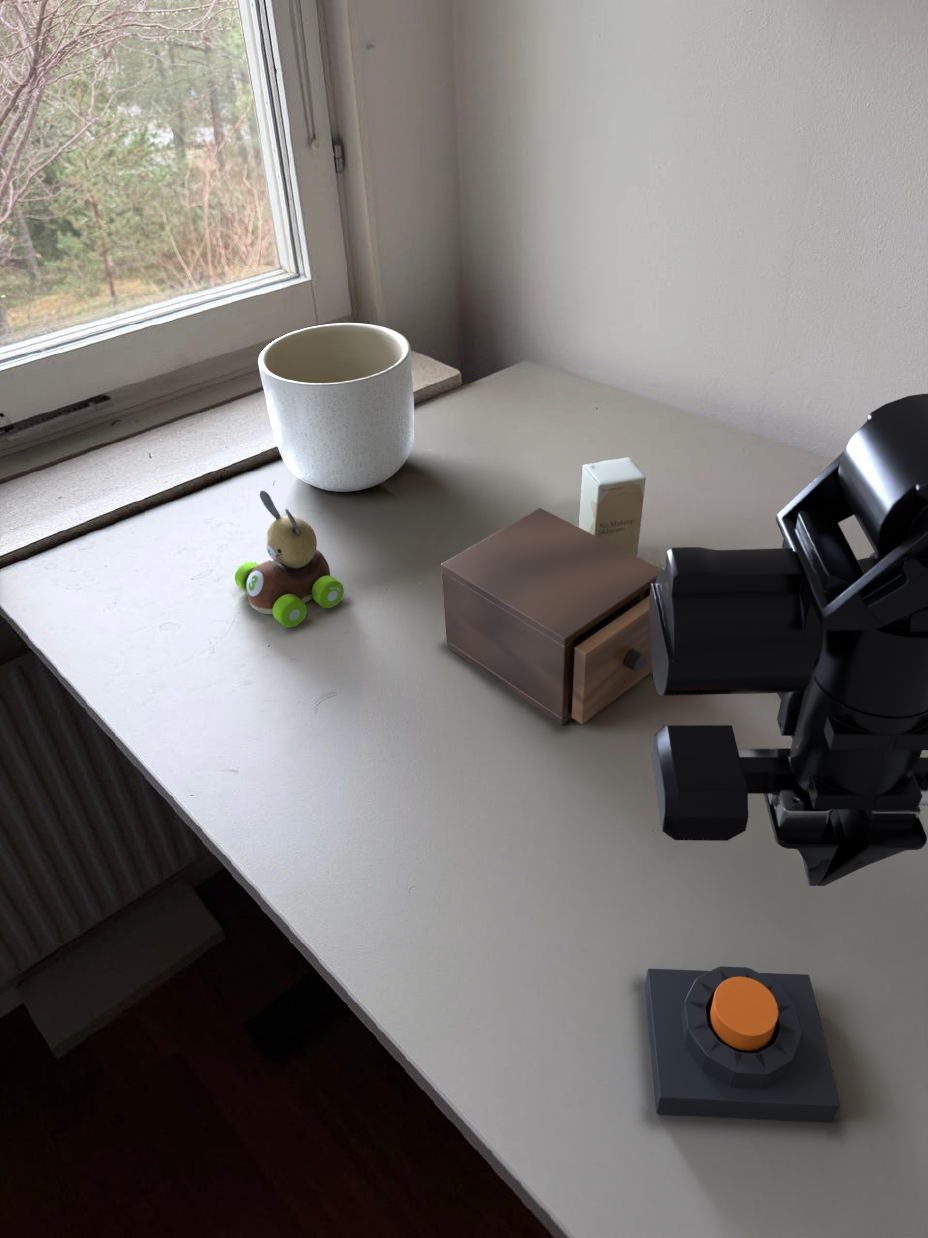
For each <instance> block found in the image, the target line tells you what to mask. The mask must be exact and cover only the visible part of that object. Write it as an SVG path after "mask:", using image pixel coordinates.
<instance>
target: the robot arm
mask: <svg viewBox="0 0 928 1238" xmlns="http://www.w3.org/2000/svg"><path fill="white" fill-rule="evenodd" d="M853 516H854V517H855V519H856V521H857V522H858V524H859V527H860V528H861V530H862V532H863V533H864V535H865V537H866V539H867V540H868V542H869V544H870V546H871V548H872V550H873V551H874V552H872V553H870V554H869V556H868V557H864V558H863V557H862V558H859V559H857V556H856V555H855V553H854V551H853V549H852V546H851V544H850V543H849V542H848V539H847V537H846V536H845V533H844V531H843V530H842V528H841V526H840V524H839V523H841V522H843V521H845V520H846V519H849V518H851V517H853ZM775 521H776V524H777V527H778V528H779V531H780V533H781V536H782V537H783V540H782V545H781V547H779V548H749V549H748V548H746V549H711V548H706V547H701V546H684V547H683V546H682V547H671V548H670V549H668V550H667V551H666V559H665V566H663V567H659V568H660V569H659V572H658V574H657V578H656V583H655V584H651V588H650V600H649V642H650V656H651V665H652V672H651V673H652V678H653V681H654V686H655V689H656V692H657V693H658V695H659V696H661V697H666V696H667V697H668V696H669V697H670V696H671V697H672V696H711V695H717V696H719V695H754V694H757V695H759V694H762V695H763V694H765V695H766V694H776V695H777V696H778V698H779V699H780V703H779V708H778V711H777V717H776V721H777V726H778V728H779V732H780V735H781V737H791V744H790V747H789V748H788V747H787V748H786V747H785V748H776V747H775V748H773V747H772V748H770V747H768V748H767V747H766V748H764V747H763V748H761V747H759V748H757V747H756V748H750V747H749V748H747V747H746V748H744V747H743V748H740V747H739V748H738V744H737V740H736V735H735V732H734V728H733V725H732V724H663V725H662V727H660V729H659V730H658V731H657V732H656V733H655V734H654V735H653V742H652V751H651V761H652V768H653V777H654V782H655V789H656V796H657V797H656V798H657V802H658V810H659V817H660V824H661V832H663V833H664V834H666V835H667V836H668V837H670V838H671V839H672V840H674V841H702V842H704V841H707V842H709V841H711V842H719V841H720V842H728V841H730V840H732V839H733V838H735V837H737V836H739V835H740V834H743V833H745V832H746V830H747V825H748V821H749V794H753V795H754V794H755V795H763V798H764V802H765V806H766V809H767V814H768V817H769V822H770V824H771V825H770V826H771V829H772V833H773V837H774V841H775V843H776V844H777V845H778V846H780V847H781V848H783V849H787V850H797V851H798V853H799V855H800V856H801V858H802V863H803V867H804V873H805V876H806V879H807V883H808V886H809V887H825V886H828V885H830V884H831V883H834V882H836V881H838V880H840V879H842V878H844V877H846V876H848V875H850V874H852V873H853V872H857V871H858V870H861V869H863V868H865V867H867V866H870V865H873V864H875V863H877V862H880V861H882V860H885V859H887V858H890V857H892V856H895V855H897V854H900V853H902V852H905V851H918V850H921V849H923V848H924V847H925V846H926V844H927V842H928V835H927V833H926V831H925V829H924V826H923V823H922V821H921V818H920V817H919V815H920V813H921V811H922V810H921V807H920V806H928V757H927V756H926V757H924V756H923V757H922V756H921V755H922V753H923V751H928V393H919V394H912V395H906V396H904V397H901V398H899V399H896V400H893V401H890V402H888V403H885V404H883V405H881V406H880V407H877V408H876V409H874V410H872V411H871V412H870V413H869V414H868V415H867V418H866V421H865V422H864V423H863V425H862V426H861V427H860V428H859V429H858V430H857V431H856V432H855V433H854V434H853V435H852V436H851V437H850V439H849V441H848V442H847V445H846V446H845V449H844V450H843V452H841V453H840V454H839V455H838V456H837V457H836V458H835V459H834V460H833V461H832V462H831V463H829V465H828V466H827V467H826V468H824V469H823V470H822V471H821V472H820V473H819V474H818V475H816V477H815V478H814V479H812V481H811V482H810V483H808V484H807V485H806V486H805V487H804V488H803V489H802V490H801V491H800V492H799V493H798V494H797V495H796V496H795V497H793V498H792V499H791V500H790V501H789V503H787V504H786V505H785V506H784V507H783V508H782V509H781V510H780V511H779V512H777V514H776V516H775Z"/></svg>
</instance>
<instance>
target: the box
mask: <svg viewBox="0 0 928 1238" xmlns="http://www.w3.org/2000/svg"><path fill="white" fill-rule="evenodd" d="M581 472H582V473H581V475H582V476H581V485H580V486H581V488H580V502H579V503H580V504H579V519H578V527H579V528H581V529H583V530H585V531H587V532H589V533H591V534H593V535H595V536H597V537H599V538H601V539H603V540H605V541H607V542H609V543H611V544H613V545H615V546H616V547H618V548H620V549H622V550H624V551H626V552H628V553H630V554H632V555H634V556H636V557H638V551H639V541H640V534H641V525H642V516H643V507H644V506H643V505H644V498H645V489H646V478H647V477H646V476H645V474H644V473H643V471H642V470H641V469H640V468H639V467H638V466H637V464H636V463H635V462H634V461H633V459H632V458H631V457H628V456H627V457H621V458H615V459H606V460H602V461H597V462H591V463H586V464H585V463H584V464H583V465H582V470H581Z"/></svg>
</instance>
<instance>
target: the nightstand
mask: <svg viewBox="0 0 928 1238" xmlns="http://www.w3.org/2000/svg"><path fill="white" fill-rule="evenodd" d="M660 568H661V567H658V566H656V565H654V564H652V563H650V562H648V561H646V560H644V559H642V558H641V557H638V556H637V557H636V556H634V555H632V554H630V553H628V552H626V551H624V550H622V549H620V548H618V547H616V546H615V545H613V544H611V543H609V542H607V541H605V540H603V539H601V538H599V537H597V536H595V535H593V534H591V533H589V532H587V531H585V530H583V529H581V528H579V526H577V525H575V524H573V523H571V522H569V521H567V520H565V519H563V518H561V517H559V516H557V515H555V514H553V513H552V512H550V511H547V510H545V509H543V508H542V507H539V508H536V509H535V510H533V511H532V512H529V514H527V515H524V516H523V517H521V518H519V519H517V520H516V521H514V522H512V523H511V524H509V525H507V526H505V527H503V528H501V529H500V530H498V531H497V532H495V533H493V534H491V535H489V536H488V537H486V538H484V539H483V540H481V541H479V542H477V543H475V544H474V545H472V546H470V547H468V548H466V549H465V550H463V551H461V552H459V553H458V554H456V555H455V556H452V557H450V558H449V559H447V560H446V561H444V562H442V563H441V564H440V569H441V570H440V571H441V584H442V587H441V588H442V598H443V600H442V601H443V613H444V614H443V615H444V628H445V640H446V642H445V643H446V647H447V648H448V649H449V650H451V651H452V652H453V653H455V654H457V655H458V656H459V657H461V658H462V659H463V660H465V661H467V662H468V663H470V664H471V665H472V666H474V667H476V668H477V669H479V670H480V671H482V672H483V673H484V674H486V675H487V676H489V677H490V678H492V679H493V680H494V681H496V682H497V683H499V684H501V686H504V687H505V688H506V689H508V690H509V691H511V692H512V693H514V694H515V695H517V696H518V697H520V698H521V699H522V700H524V701H526V702H527V704H530V705H531V706H533V707H534V708H535V709H537V710H539V711H540V712H542V713H543V714H545V715H546V716H548V717H549V718H550V719H552V720H553V721H555V722H556V723H558V724H559V725H561V726H563V725H565V724H566V723H567V722H568V721H569V720H571V719H573V718H572V699H573V698H571V699H570V700H569V678H570V653H571V642H572V641H573V640H575V639H576V638H578V637H579V636H580V635H582V634H583V633H585V632H586V631H588V630H589V629H591V628H592V627H594V626H595V625H596V624H598V623H599V622H601V621H602V620H604V619H605V618H607V617H608V616H609V615H611V614H612V613H614V612H615V611H617V610H618V609H620V608H621V607H623V606H624V605H625V604H627V603H628V602H630V601H631V600H633V599H634V598H636V597H637V596H638V595H640V594H641V593H643V592H644V591H646V594H645V598H647V597H648V596H649V595H650V588H651V584H655V583H656V578H657V574H658V572H659V569H660Z"/></svg>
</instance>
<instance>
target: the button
mask: <svg viewBox="0 0 928 1238" xmlns="http://www.w3.org/2000/svg"><path fill="white" fill-rule="evenodd" d="M710 1019H711V1023H712V1026H713V1028H714V1030H715V1032H716V1033H717V1035H718V1036H719V1037H720V1038H721V1039H722V1040H723V1041H724V1042H725V1043H727V1044H728V1045H730V1046H732V1047H734V1048H737V1049H740V1050H756V1049H759V1048H761V1047H763V1046H764V1045H766V1044H767V1043H768V1042H769V1040H770V1039H771V1037H772V1034H773V1031H774V1028H775V1025H776V1022H777V1019H778V1006H777V1003H776V1000H775V998H774V996H773V995H772V993H771V992H770V991H769V990H768V989H767V988H766V987H765V986H764V985H762V984H761V983H759V982H758V981H756V980H753V979H751V978H747V977H733V978H729V979H727V980H725V981H723V982H722V983H721V984H720V985H719V986H718V988H717V989H716V991H715V994H714V999H713V1003H712V1007H711V1011H710Z"/></svg>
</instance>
